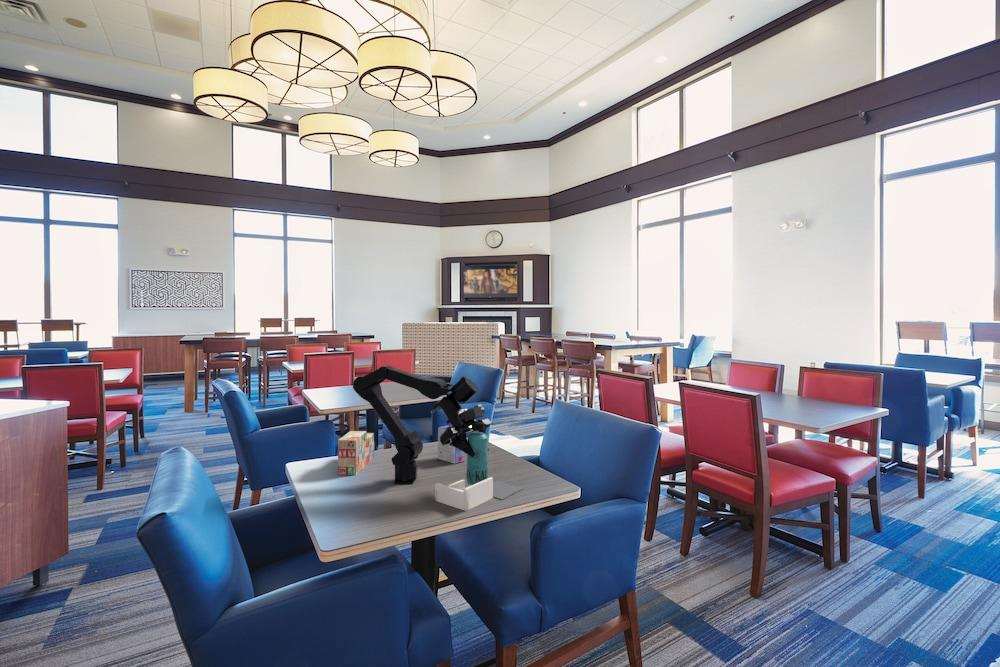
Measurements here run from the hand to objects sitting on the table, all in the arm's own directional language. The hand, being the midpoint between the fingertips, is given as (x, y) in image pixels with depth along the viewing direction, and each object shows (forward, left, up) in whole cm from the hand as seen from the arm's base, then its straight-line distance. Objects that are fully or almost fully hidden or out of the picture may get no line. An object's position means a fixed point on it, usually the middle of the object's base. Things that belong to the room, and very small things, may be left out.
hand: (480, 453), depth 142 cm
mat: (+2, +6, -12) cm, 14 cm away
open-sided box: (-5, -4, -12) cm, 14 cm away
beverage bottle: (-1, +1, -11) cm, 11 cm away
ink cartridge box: (-14, +34, -13) cm, 39 cm away
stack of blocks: (-47, +26, -13) cm, 55 cm away
